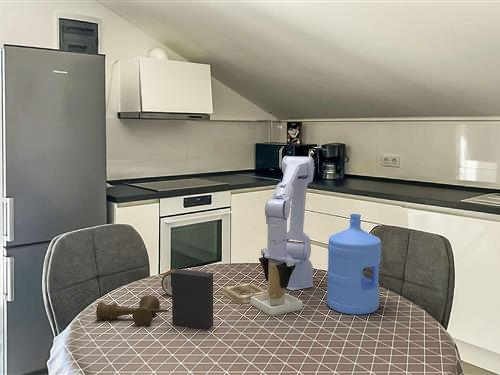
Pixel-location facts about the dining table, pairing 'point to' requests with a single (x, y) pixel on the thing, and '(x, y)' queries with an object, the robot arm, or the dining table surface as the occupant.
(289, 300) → the tray
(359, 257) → the water jug
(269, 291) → the skincare box
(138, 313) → the kendama
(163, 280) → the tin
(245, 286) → the wooden square frame
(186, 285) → the black upright block
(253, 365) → the dining table surface
